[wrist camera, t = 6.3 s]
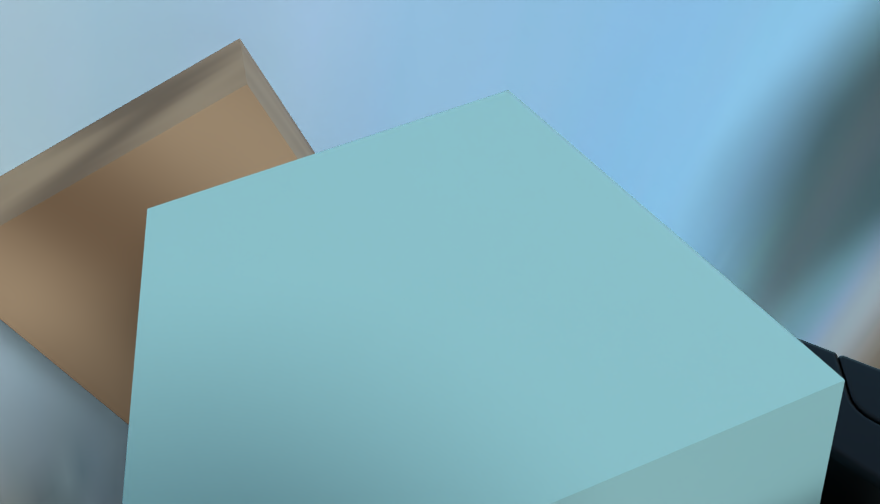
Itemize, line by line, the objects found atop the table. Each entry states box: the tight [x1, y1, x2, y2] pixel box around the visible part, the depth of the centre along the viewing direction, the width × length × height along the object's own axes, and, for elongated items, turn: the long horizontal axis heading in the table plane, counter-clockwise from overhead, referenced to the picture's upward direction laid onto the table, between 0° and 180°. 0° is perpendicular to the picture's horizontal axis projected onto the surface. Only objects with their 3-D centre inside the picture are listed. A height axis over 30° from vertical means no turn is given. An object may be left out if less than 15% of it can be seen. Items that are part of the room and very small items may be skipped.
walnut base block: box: [0, 39, 315, 425], centre depth 19 cm, size 8×8×4 cm
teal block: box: [122, 90, 845, 504], centre depth 8 cm, size 5×5×6 cm
